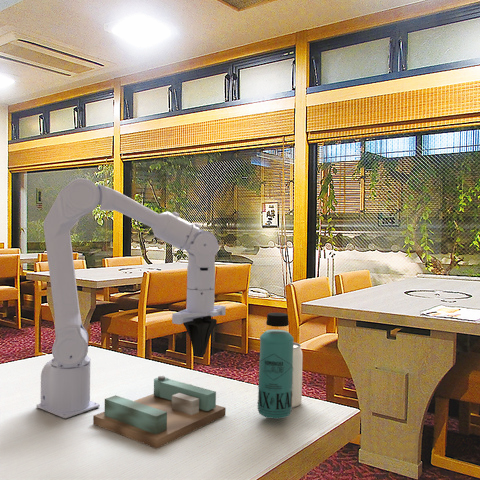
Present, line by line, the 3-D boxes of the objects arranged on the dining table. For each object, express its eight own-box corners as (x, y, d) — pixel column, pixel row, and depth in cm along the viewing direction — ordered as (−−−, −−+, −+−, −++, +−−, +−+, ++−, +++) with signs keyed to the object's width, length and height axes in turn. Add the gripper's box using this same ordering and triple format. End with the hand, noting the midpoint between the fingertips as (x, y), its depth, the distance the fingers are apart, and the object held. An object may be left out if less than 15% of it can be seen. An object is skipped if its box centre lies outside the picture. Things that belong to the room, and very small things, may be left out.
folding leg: (150, 394, 100) (150, 377, 100) (161, 390, 102) (161, 373, 102) (206, 411, 91) (206, 392, 91) (216, 407, 94) (216, 388, 94)
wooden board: (93, 423, 89) (93, 399, 89) (164, 397, 104) (164, 375, 104) (156, 448, 80) (157, 421, 80) (225, 415, 94) (225, 391, 94)
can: (300, 410, 98) (301, 349, 97) (267, 407, 99) (268, 347, 99) (302, 399, 104) (304, 342, 104) (272, 396, 105) (273, 340, 105)
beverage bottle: (255, 413, 96) (257, 310, 95) (289, 413, 96) (291, 310, 96) (259, 427, 89) (261, 316, 88) (295, 426, 90) (298, 316, 89)
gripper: (191, 293, 94) (190, 364, 95) (237, 287, 106) (235, 350, 107) (165, 290, 99) (163, 358, 99) (211, 284, 110) (210, 345, 111)
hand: (199, 353), depth 103 cm, fingers closed
